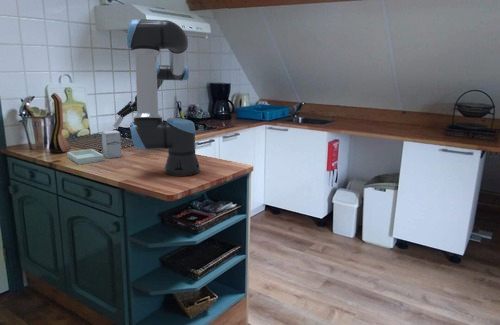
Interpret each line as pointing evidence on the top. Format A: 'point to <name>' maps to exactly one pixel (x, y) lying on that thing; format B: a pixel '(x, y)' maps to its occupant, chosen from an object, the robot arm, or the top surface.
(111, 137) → the supplement box
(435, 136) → the top surface
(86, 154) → the tray
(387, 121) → the top surface
